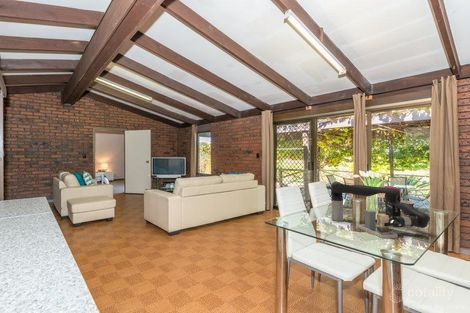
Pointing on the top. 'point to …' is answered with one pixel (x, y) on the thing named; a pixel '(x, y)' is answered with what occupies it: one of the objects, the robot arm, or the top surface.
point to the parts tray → (374, 232)
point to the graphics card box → (392, 207)
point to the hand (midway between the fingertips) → (380, 222)
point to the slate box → (370, 219)
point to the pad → (366, 236)
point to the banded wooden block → (382, 224)
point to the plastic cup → (407, 203)
